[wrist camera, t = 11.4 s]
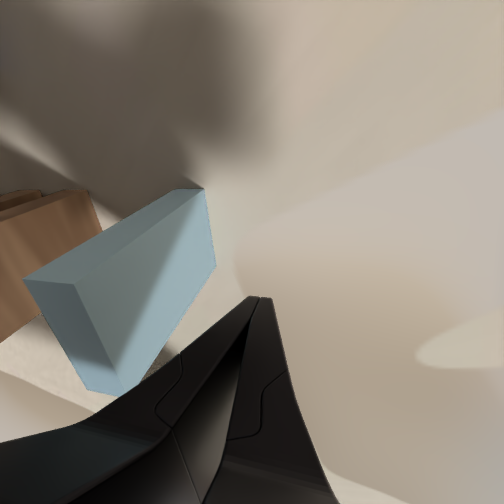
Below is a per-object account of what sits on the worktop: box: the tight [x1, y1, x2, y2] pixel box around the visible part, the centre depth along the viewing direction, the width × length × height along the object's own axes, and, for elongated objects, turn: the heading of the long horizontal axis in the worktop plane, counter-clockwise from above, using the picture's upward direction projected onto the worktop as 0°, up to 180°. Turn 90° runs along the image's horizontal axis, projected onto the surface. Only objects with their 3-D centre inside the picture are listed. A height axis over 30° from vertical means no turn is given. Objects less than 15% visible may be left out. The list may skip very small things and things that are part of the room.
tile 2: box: [0, 190, 103, 343], centre depth 14 cm, size 2×5×9 cm, turn 4°
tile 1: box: [22, 189, 216, 397], centre depth 12 cm, size 2×5×9 cm, turn 4°
